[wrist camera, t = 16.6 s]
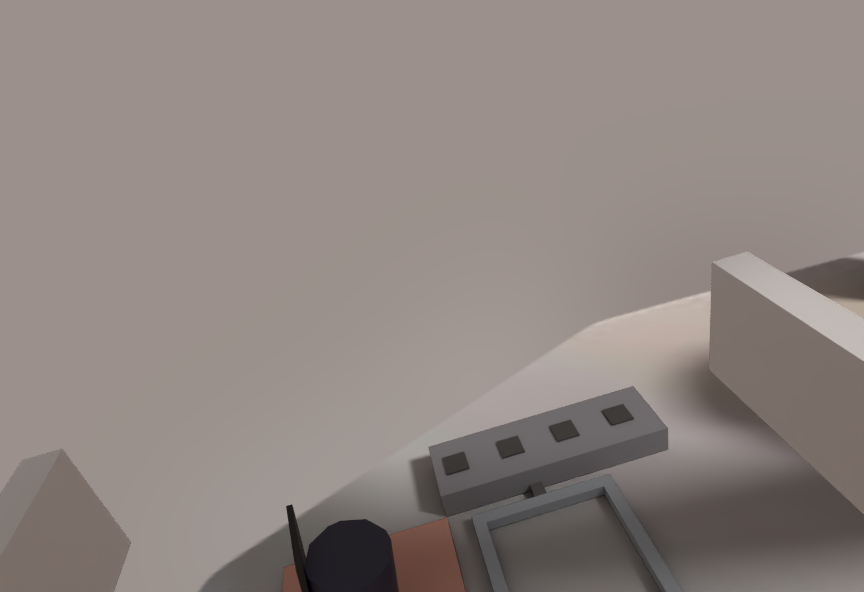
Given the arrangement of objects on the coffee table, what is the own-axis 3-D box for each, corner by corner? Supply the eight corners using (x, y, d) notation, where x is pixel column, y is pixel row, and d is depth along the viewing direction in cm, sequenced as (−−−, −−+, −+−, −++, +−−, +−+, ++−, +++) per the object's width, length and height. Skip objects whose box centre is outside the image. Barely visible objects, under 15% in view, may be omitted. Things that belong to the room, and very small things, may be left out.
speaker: (294, 682, 38) (255, 580, 34) (312, 602, 43) (280, 504, 39) (405, 678, 38) (381, 573, 33) (410, 597, 43) (390, 497, 38)
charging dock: (634, 406, 54) (633, 384, 53) (778, 590, 37) (782, 564, 36) (434, 466, 53) (427, 445, 52) (488, 683, 36) (481, 661, 35)
